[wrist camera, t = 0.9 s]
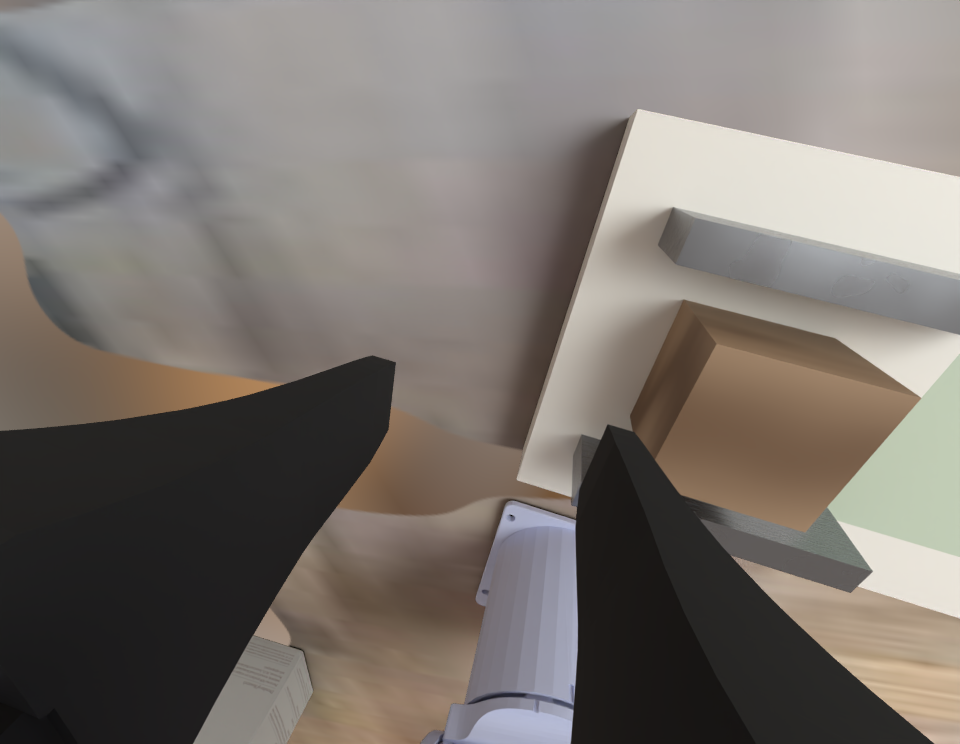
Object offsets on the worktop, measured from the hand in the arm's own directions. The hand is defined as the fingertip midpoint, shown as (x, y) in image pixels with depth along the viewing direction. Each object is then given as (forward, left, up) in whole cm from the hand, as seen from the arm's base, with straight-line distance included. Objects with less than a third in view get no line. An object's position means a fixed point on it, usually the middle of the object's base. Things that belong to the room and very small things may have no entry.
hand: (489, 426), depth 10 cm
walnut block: (0, -8, -7) cm, 10 cm away
